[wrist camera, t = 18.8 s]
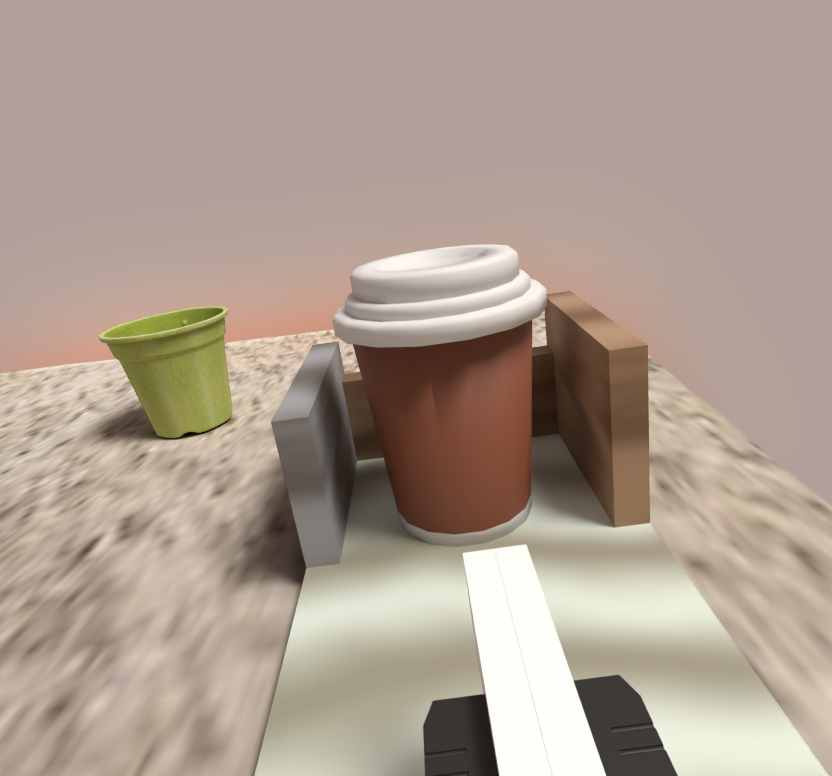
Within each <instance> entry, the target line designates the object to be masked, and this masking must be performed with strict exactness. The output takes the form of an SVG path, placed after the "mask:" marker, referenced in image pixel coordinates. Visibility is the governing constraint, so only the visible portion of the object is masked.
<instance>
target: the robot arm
mask: <svg viewBox="0 0 832 776" xmlns="http://www.w3.org/2000/svg"><path fill="white" fill-rule="evenodd" d="M463 560H464V568H465V575H466V582H467V589H468V597H469V604H470V611H471V618H472V626H473V633H474V640H475V647H476V653H477V660H478V666H479V672H480V678H481V684H482V691H483V694H480V695H472V696H465V697H457V698H449V699H442V700H434V701H433V702H432V704H431V707H430V709H429V712H428V714H427V717H426V719H425V722H424V724H423V739H424V757H425V759H424V763H425V776H678V775H677V773H676V771H675V769H674V766H673V764H672V762H671V760H670V758H669V756H668V753H667V751H666V750H665V749H664V746H663V743H662V741H661V738H660V736H659V734H658V732H657V730H656V728H654V725H653V721H652V719H651V717H650V715H649V713H648V710H647V708H646V706H645V704H644V702H643V700H642V698H641V696H640V695H639V694H638V693H637V692H636V691H635V690H634V689H633V688H632V687H631V686H630V685H629V684H628V683H627V682H626V681H625V680H624V679H623V678H622V677H621V676H620V675H612V676H604V677H596V678H589V679H581V680H574V681H573V678H572V675H571V672H570V670H569V667H568V664H567V661H566V658H565V655H564V652H563V649H562V646H561V643H560V641H559V638H558V635H557V632H556V629H555V626H554V623H553V620H552V617H551V614H550V612H549V609H548V606H547V603H546V600H545V597H544V594H543V591H542V588H541V585H540V583H539V580H538V577H537V574H536V571H535V568H534V565H533V562H532V559H531V556H530V554H529V551H528V548H527V545H526V544H525V545H517V546H510V547H503V548H495V549H488V550H481V551H473V552H466V553H463Z"/></svg>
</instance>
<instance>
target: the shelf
mask: <svg viewBox="0 0 832 776" xmlns="http://www.w3.org/2000/svg"><path fill="white" fill-rule="evenodd" d="M545 322H546V336H547V346H541V347H534V348H532V435H531V498H532V507H531V510H530V513H529V515H528V518H527V520H526V521H525V522H524V523H523V524H521V525H520V526H519V527H518V528H517V529H515V530H514V531H513V532H512V533H510V534H508V535H506V536H503V537H500V538H498V539H495V540H493V541H490V542H488V543H484V544H476V545H468V546H460V547H453V546H444V545H435V544H429V543H427V542H424V541H422V540H420V539H418V538H415V537H413V536H411V535H410V534H409V533H408V532H407V531H406V529H405V528H404V527H403V526H402V525H401V523H400V520H399V514H398V509H397V506H396V502H395V498H394V494H393V491H392V487H391V483H390V480H389V476H388V472H387V469H386V465H385V461H384V457H383V454H382V450H381V446H380V443H379V439H378V435H377V431H376V428H375V424H374V420H373V417H372V413H371V409H370V406H369V402H368V398H367V394H366V391H365V387H364V383H363V380H362V376H361V372H356V373H349V374H344V369H343V364H342V359H341V353H340V348H339V343H338V342H332V343H325V344H318V345H313V346H312V348H311V349H310V351H309V353H308V355H307V357H306V359H305V360H304V362H303V364H302V366H301V368H300V370H299V371H298V373H297V375H296V377H295V379H294V381H293V382H292V384H291V386H290V388H289V390H288V392H287V393H286V395H285V397H284V399H283V401H282V403H281V405H280V406H279V408H278V410H277V412H276V414H275V416H274V417H273V419H272V421H271V424H272V428H273V432H274V436H275V440H276V445H277V449H278V453H279V457H280V461H281V465H282V469H283V474H284V478H285V482H286V486H287V490H288V494H289V498H290V503H291V507H292V511H293V515H294V519H295V523H296V527H297V532H298V536H299V540H300V544H301V548H302V552H303V556H304V561H305V565H306V572H305V576H304V580H303V584H302V588H301V591H300V595H299V599H298V603H297V607H296V611H295V615H294V619H293V623H292V627H291V631H290V635H289V639H288V643H287V647H286V651H285V655H284V659H283V663H282V667H281V671H280V675H279V679H278V683H277V687H276V691H275V695H274V699H273V703H272V707H271V711H270V715H269V719H268V723H267V727H266V731H265V735H264V739H263V743H262V747H261V751H260V755H259V759H258V763H257V767H256V771H255V775H254V776H425V763H424V759H425V757H424V739H423V724H424V722H425V719H426V717H427V714H428V712H429V709H430V707H431V704H432V702H433V701H434V700H442V699H449V698H457V697H465V696H472V695H480V694H483V691H482V684H481V678H480V672H479V666H478V660H477V653H476V647H475V640H474V633H473V626H472V618H471V611H470V604H469V597H468V589H467V582H466V575H465V568H464V560H463V553H466V552H473V551H481V550H488V549H495V548H503V547H510V546H517V545H525V544H526V545H527V548H528V551H529V554H530V556H531V559H532V562H533V565H534V568H535V571H536V574H537V577H538V580H539V583H540V585H541V588H542V591H543V594H544V597H545V600H546V603H547V606H548V609H549V612H550V614H551V617H552V620H553V623H554V626H555V629H556V632H557V635H558V638H559V641H560V643H561V646H562V649H563V652H564V655H565V658H566V661H567V664H568V667H569V670H570V672H571V675H572V678H573V681H574V680H581V679H589V678H596V677H604V676H612V675H620V676H621V677H622V678H623V679H624V680H625V681H626V682H627V683H628V684H629V685H630V686H631V687H632V688H633V689H634V690H635V691H636V692H637V693H638V694H639V695H640V696H641V698H642V700H643V702H644V704H645V706H646V708H647V710H648V713H649V715H650V717H651V719H652V721H653V725H654V728H656V730H657V732H658V734H659V736H660V738H661V741H662V743H663V746H664V749H665V750H666V751H667V753H668V756H669V758H670V760H671V762H672V764H673V766H674V769H675V771H676V773H677V775H678V776H828V774H827V773H826V771H825V770H824V768H823V767H822V766H821V764H820V763H819V761H818V760H817V759H816V757H815V756H814V754H813V753H812V752H811V750H810V749H809V747H808V746H807V744H806V743H805V742H804V740H803V739H802V737H801V736H800V735H799V733H798V732H797V730H796V729H795V728H794V726H793V725H792V723H791V722H790V720H789V719H788V718H787V716H786V715H785V713H784V712H783V711H782V709H781V708H780V706H779V705H778V703H777V702H776V701H775V699H774V698H773V696H772V695H771V694H770V692H769V691H768V689H767V688H766V687H765V685H764V684H763V682H762V681H761V679H760V678H759V677H758V675H757V674H756V672H755V671H754V670H753V668H752V667H751V665H750V664H749V663H748V661H747V660H746V658H745V657H744V655H743V654H742V653H741V651H740V650H739V648H738V647H737V646H736V644H735V643H734V641H733V640H732V638H731V637H730V636H729V634H728V633H727V631H726V630H725V629H724V627H723V626H722V624H721V623H720V622H719V620H718V619H717V617H716V616H715V614H714V613H713V612H712V610H711V609H710V607H709V606H708V605H707V603H706V602H705V600H704V599H703V598H702V596H701V595H700V593H699V592H698V590H697V589H696V588H695V586H694V585H693V583H692V582H691V581H690V579H689V578H688V576H687V575H686V573H685V572H684V571H683V569H682V568H681V566H680V565H679V564H678V562H677V561H676V559H675V558H674V557H673V555H672V554H671V552H670V551H669V549H668V548H667V547H666V545H665V544H664V542H663V541H662V540H661V538H660V537H659V535H658V534H657V533H656V531H655V530H654V528H653V527H652V525H651V524H650V495H649V415H648V345H647V344H645V343H644V342H642V341H641V340H639V339H638V338H636V337H635V336H634V335H632V334H631V333H629V332H628V331H627V330H625V329H624V328H622V327H621V326H619V325H618V324H616V323H615V322H613V321H612V320H610V319H609V318H608V317H606V316H605V315H604V314H602V313H601V312H599V311H598V310H596V309H595V308H593V307H592V306H591V305H589V304H587V303H586V302H585V301H583V300H582V299H580V298H579V297H578V296H576V295H575V294H573V293H572V292H570V291H568V292H561V293H554V294H548V295H547V307H546V308H545Z"/></svg>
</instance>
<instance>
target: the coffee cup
mask: <svg viewBox="0 0 832 776" xmlns="http://www.w3.org/2000/svg"><path fill="white" fill-rule="evenodd" d="M350 280H351V286H352V292H353V293H351V294H349V296H348V298H347V300H346V302H345V305H344V306H342V307H340V308H339V309H338V310H337V312H336V314H335V315H334V317H333V326H334V331H335V335H336V336H337V337H339V338H340V339H342V340H343V341H345V342H346V343H348V344H353V346H354V350H355V354H356V357H357V361H358V365H359V368H360V372H361V376H362V380H363V383H364V387H365V391H366V394H367V398H368V402H369V406H370V409H371V413H372V417H373V420H374V424H375V428H376V431H377V435H378V439H379V443H380V446H381V450H382V454H383V457H384V461H385V465H386V469H387V472H388V476H389V480H390V483H391V487H392V491H393V494H394V498H395V502H396V506H397V509H398V514H399V520H400V523H401V525H402V526H403V527H404V528H405V529H406V531H407V532H408V533H409V534H410V535H411V536H413V537H415V538H418V539H420V540H422V541H424V542H427V543H429V544H435V545H444V546H453V547H460V546H468V545H476V544H484V543H488V542H490V541H493V540H495V539H498V538H500V537H503V536H506V535H508V534H510V533H512V532H513V531H514V530H515V529H517V528H518V527H519V526H520V525H521V524H523V523H524V522H525V521H526V520H527V518H528V515H529V513H530V510H531V507H532V498H531V435H532V319H535V318H537V317H539V316H540V315H541V313H542V312H543V311H544V309H545V308H546V307H547V292H546V289H545V288H544V287H543V286H542V285H541V284H540V283H539V282H537V281H536V280H532V279H530V277H529V275H528V274H526V273H525V272H524V271H523V270H521V269H519V264H518V253H517V252H516V251H515V250H513V249H512V248H511V247H509V246H505V245H494V244H490V245H466V246H457V247H446V248H438V249H432V250H424V251H417V252H412V253H407V254H402V255H396V256H392V257H387V258H384V259H380V260H376V261H372V262H369V263H366V264H364V265H362V266H359V267H357V268H356V269H355V270H354V271H353V273H352V274H351V276H350Z"/></svg>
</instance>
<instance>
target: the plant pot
mask: <svg viewBox="0 0 832 776" xmlns="http://www.w3.org/2000/svg"><path fill="white" fill-rule="evenodd" d="M227 314H228V310H227V308H225V307H221V306H208V307H197V308H189V309H184V310H178V311H172V312H167V313H163V314H158V315H154V316H150V317H145V318H141V319H138V320H134V321H131V322H127V323H124V324H121V325H117V326H115V327H113V328H110V329H108V330H106V331H104V332H103V333H101V334H100V335H99V339H100V341H101V342H103V343H107V345H108V346H109V348H110V349H111V352H112V353H113V355H114V357H115V358H116V359H118V360H119V361H120V363H121V365H122V367H123V368H124V370H125V372H126V374H127V376H128V378H129V380H130V382H131V384H132V386H133V388H134V390H135V392H136V394H137V396H138V398H139V400H140V402H141V404H142V406H143V409H144V411H145V413H146V415H147V417H148V419H149V421H150V423H151V425H152V427H153V429H154V431H155V433H156V434H157V435H158V436H161V437H167V438H177V437H181V436H182V435H183V434H185V433H187V432H198V433H201V432H205V431H208V430H210V429H212V428H214V427H216V426H218V425H220V424H222V423H224V422H225V421H227V420H228V419H229V418H230V416H231V412H232V402H231V394H230V387H229V379H228V371H227V363H226V355H225V345H224V334H225V331H226V330H225V320H224V317H225V316H226V315H227Z"/></svg>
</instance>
